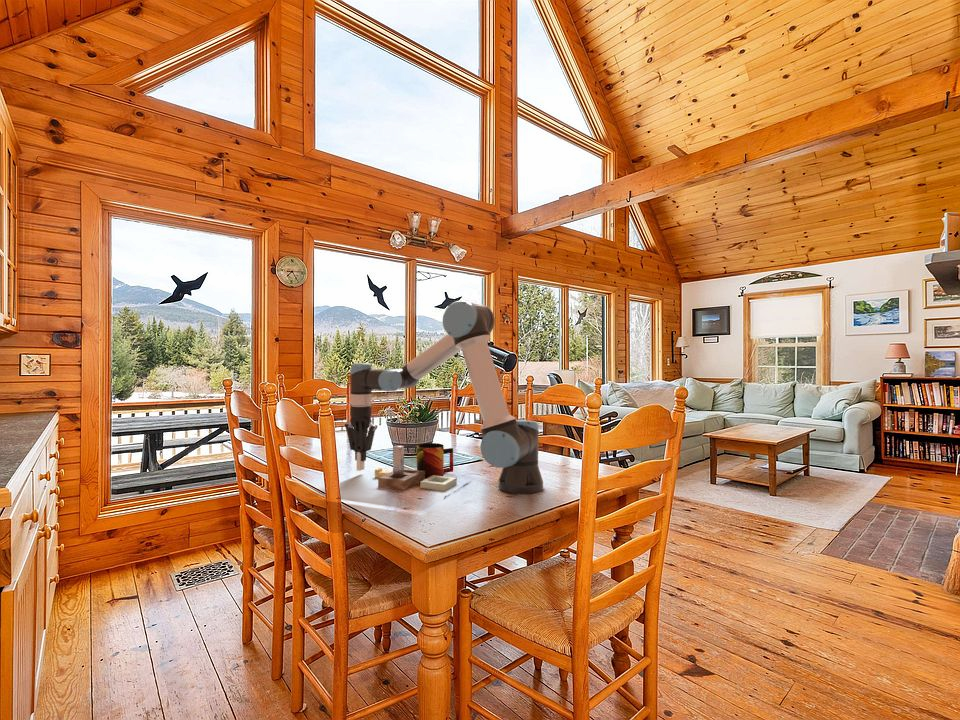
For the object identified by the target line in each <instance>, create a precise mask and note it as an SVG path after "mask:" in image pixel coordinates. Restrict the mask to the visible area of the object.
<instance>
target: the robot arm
mask: <svg viewBox="0 0 960 720" xmlns="http://www.w3.org/2000/svg"><path fill="white" fill-rule="evenodd" d="M495 318H496V317H495V314H494V312H493V311H492V309H491V308H490V307H488V306H487V305H485V304H483V303H477V302H473V301H472V302H471V301H470V300H457V301H454V302H452V303H450V304H449V305H448V306H447V307H446V309H445V311H444V313H443V315H442V326H443V330H444V331H445V333H446V335H444V336H443V337H441V339H439V340H438V341H436V342H434V344H432V345H431V346H429V347H428V348H427V349H425V350H424V351H422V352H421V353H419V354H418V355H417V356H415V357H414V358H412V359H411V360H410V361H409V362H407V363H406V364H405V365H403V366H401V368H387V369H381V368H380V369H373V366H372V363H366V362H365V363H364V362H362V363H361V362H360V363H359V362H358V363H356V362H355V363H352V364H351V365H350V375H349V377H350V378H349V380H350V396H349V397H350V398H349V399H350V400H349V401H350V402H349V403H350V405H351V406H350V413H349V414H350V420H349V422H347V423H345V424H344V427H345V429H346V432H347V438H348V443H349V448H350V450H351V451H354V460H355V461H356V471H359V472H361V471H362V470H365V461H366V460H367V452H369V451H371V450H372V446H373V441H374V436H375V432H376V430H377V429H378V425H377V424H374V423H372V421H373V420H372V418H371V417H372V391H384V392H395V391H398V390H399V389H410V388H413V387H415V386H417V385H418V383H419V381H420V380H421V379H422V378H424V377H425V376H426V375H429V373H431V372H432V371H434V370H435V369H436V368H438V367H439V366H441V365H442V364H444V363H445V362H447V361H448V360H450V359H451V358H453V357H454V356H456V354H458V353H460V352H461V353H462V355H463V356H462V357H463V359H464V363H465V365H466V369H467V373H468V375H469V378H470V382H471V385H472V388H473V393H474V395H475V399H476V403H477V405H478V409H479V412H480V415H481V419H482V425H481V426H480V431H481V435H482V440H481V442H480V453H481V455H482V458H483V459H484V460H485V461H486V463H488V465H491V466H493V467H495V468H498V469H499V468H500V469H501V472H500V476H499V477H498V489H499V490H501V491H503V492H505V493H511V494H520V495H521V494H522V495H523V494H524V495H526V494H535V493H539V492H541V491H543V490H544V480H543V477H542V473H541V471H540V467H539V433H540V430H539V424H538V422H537V421H536V420H525V419H523V420H522V419H517V418H516V417H515V416H513V415H511V414H510V411H509V409H508V405H507V402H506V398H505V396H504V393H503V390H502V386H501V384H500V380H499V377H498V376H499V375H498V374H497V370H496V367H495V363H494V360H493V357H492V354H491V350H490V348H489V345H488V341H489V339H490V338H491V333H492V331H493V330H494V328H495V323H496V319H495Z"/></svg>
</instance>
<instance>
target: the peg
mask: <svg viewBox="0 0 960 720" xmlns="http://www.w3.org/2000/svg"><path fill="white" fill-rule="evenodd" d="M404 448H405V445H399V444H398V445H394V446H392V472H393V478H403V477H404V469H405V466H404V465H405V449H404Z"/></svg>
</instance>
